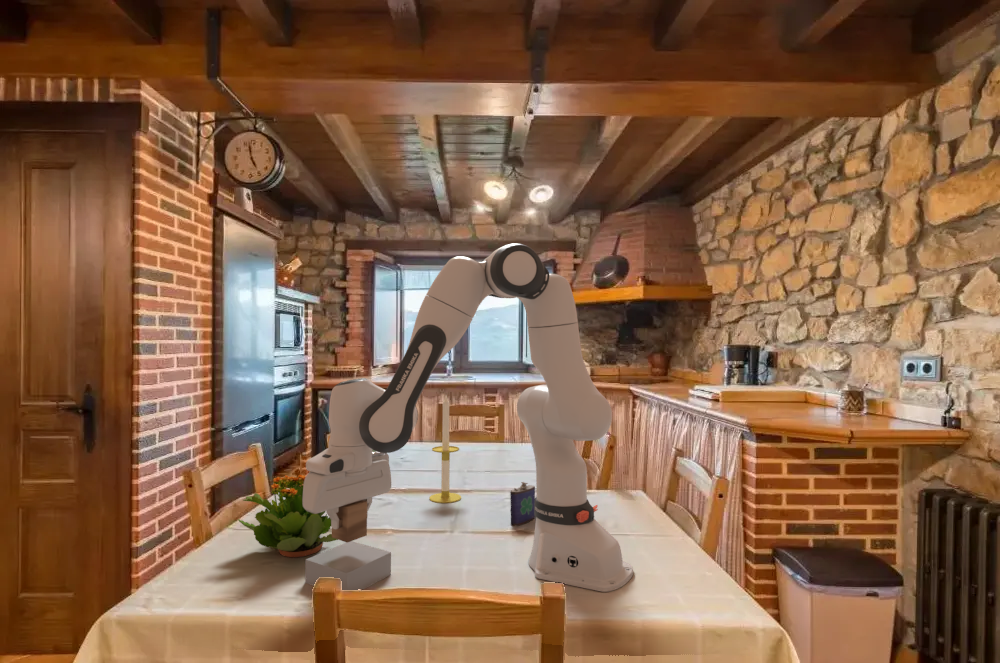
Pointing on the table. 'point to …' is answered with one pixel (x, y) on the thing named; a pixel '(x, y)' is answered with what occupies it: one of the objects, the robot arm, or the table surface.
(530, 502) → the flask
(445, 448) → the wheel axle
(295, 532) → the potted flower
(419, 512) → the table surface
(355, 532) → the walnut block
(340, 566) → the plate
